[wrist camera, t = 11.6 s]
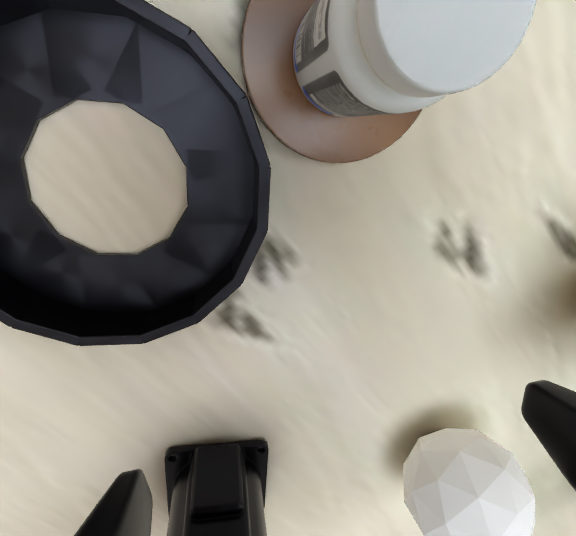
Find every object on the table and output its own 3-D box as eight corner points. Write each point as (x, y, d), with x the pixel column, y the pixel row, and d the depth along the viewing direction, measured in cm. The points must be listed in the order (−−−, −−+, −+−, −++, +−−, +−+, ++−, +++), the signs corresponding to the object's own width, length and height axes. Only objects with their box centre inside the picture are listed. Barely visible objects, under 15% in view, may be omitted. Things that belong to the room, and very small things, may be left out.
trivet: (413, 166, 19) (418, 167, 18) (238, 156, 17) (239, 157, 16) (456, -51, 15) (463, -57, 15) (243, -91, 14) (244, -98, 13)
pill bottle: (408, 85, 17) (571, 53, 9) (319, 136, 17) (402, 147, 9) (372, -32, 15) (539, -202, 7) (271, 27, 15) (325, -77, 7)
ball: (413, 398, 29) (493, 408, 21) (485, 465, 29) (589, 498, 21) (361, 485, 26) (433, 532, 18) (441, 559, 26) (545, 635, 18)
